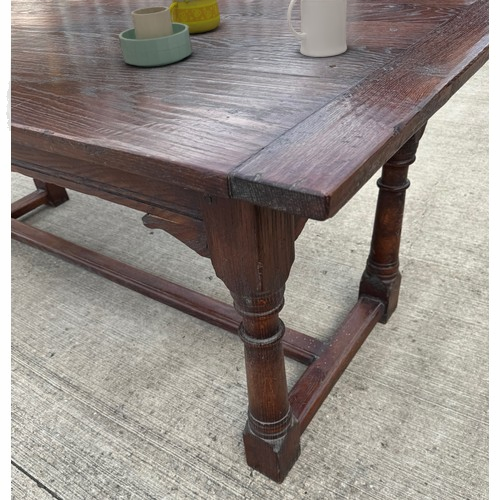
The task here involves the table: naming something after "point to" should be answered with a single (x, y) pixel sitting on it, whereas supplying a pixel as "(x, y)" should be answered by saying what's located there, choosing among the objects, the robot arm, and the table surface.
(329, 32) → the mug
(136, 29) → the cup
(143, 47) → the bowl
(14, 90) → the table surface
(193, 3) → the mug
